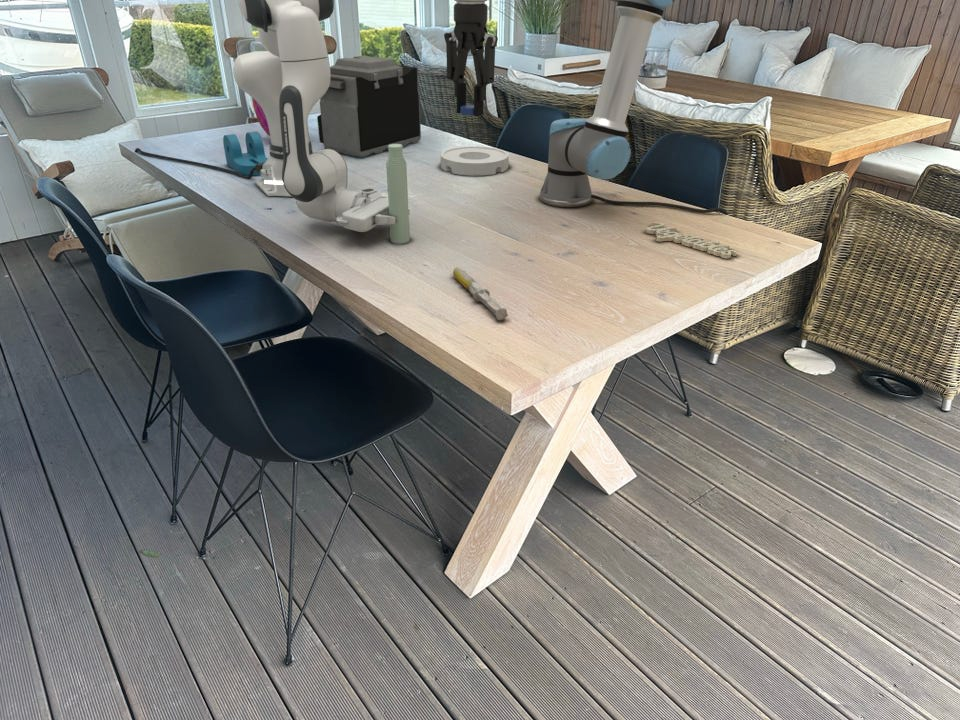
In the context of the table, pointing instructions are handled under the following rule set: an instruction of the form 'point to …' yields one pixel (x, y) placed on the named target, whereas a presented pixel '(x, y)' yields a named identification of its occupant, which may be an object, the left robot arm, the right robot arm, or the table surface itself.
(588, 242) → the table surface
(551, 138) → the right robot arm
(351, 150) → the electronic device
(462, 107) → the cap
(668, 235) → the decorative sign
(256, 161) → the camera mount
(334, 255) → the table surface
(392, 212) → the bottle
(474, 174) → the ashtray
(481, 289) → the syringe
